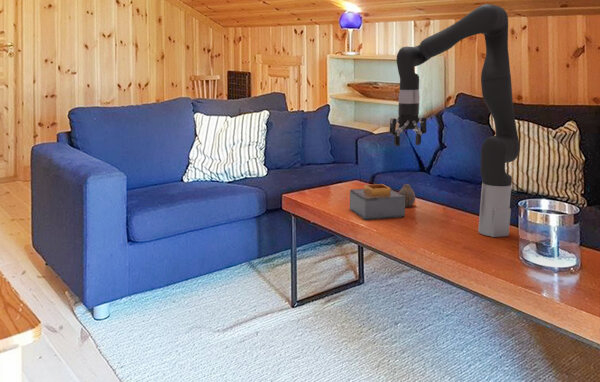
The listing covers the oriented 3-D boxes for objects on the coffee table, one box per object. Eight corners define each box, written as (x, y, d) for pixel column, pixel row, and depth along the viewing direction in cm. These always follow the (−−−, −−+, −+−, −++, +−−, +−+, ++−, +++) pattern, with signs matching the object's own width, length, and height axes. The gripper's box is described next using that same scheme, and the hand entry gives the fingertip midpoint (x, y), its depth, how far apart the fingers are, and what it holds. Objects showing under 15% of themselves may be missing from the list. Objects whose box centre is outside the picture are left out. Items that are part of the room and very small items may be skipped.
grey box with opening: (404, 217, 201) (405, 189, 199) (364, 220, 197) (365, 192, 195) (383, 204, 220) (384, 179, 217) (346, 207, 215) (347, 181, 213)
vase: (413, 204, 220) (414, 183, 218) (415, 208, 214) (416, 187, 212) (396, 203, 221) (397, 182, 219) (398, 208, 214) (399, 186, 212)
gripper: (396, 103, 194) (395, 147, 197) (431, 102, 198) (429, 145, 201) (387, 102, 201) (386, 145, 204) (420, 101, 205) (419, 143, 208)
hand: (407, 145), depth 202 cm, fingers open, 8 cm apart
